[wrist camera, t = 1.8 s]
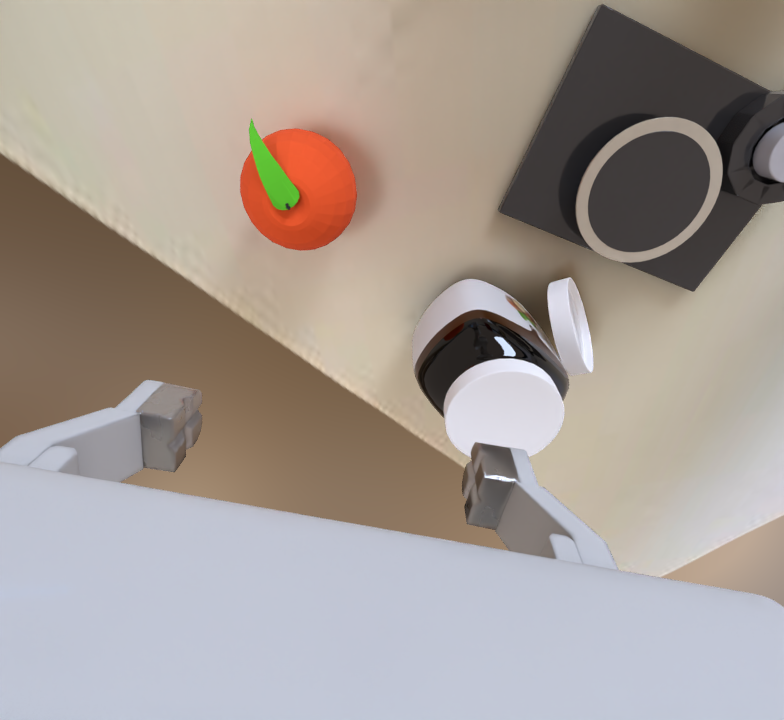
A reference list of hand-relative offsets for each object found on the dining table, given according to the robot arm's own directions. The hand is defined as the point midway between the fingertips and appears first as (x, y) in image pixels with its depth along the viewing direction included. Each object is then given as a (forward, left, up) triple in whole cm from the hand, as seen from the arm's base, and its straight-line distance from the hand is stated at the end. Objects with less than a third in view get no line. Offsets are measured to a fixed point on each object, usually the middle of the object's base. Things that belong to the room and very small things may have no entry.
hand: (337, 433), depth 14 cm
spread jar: (+12, -3, -22) cm, 25 cm away
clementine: (-6, +2, -22) cm, 23 cm away
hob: (+15, +10, -22) cm, 29 cm away
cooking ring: (+15, +9, -20) cm, 26 cm away
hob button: (+21, +14, -20) cm, 32 cm away
